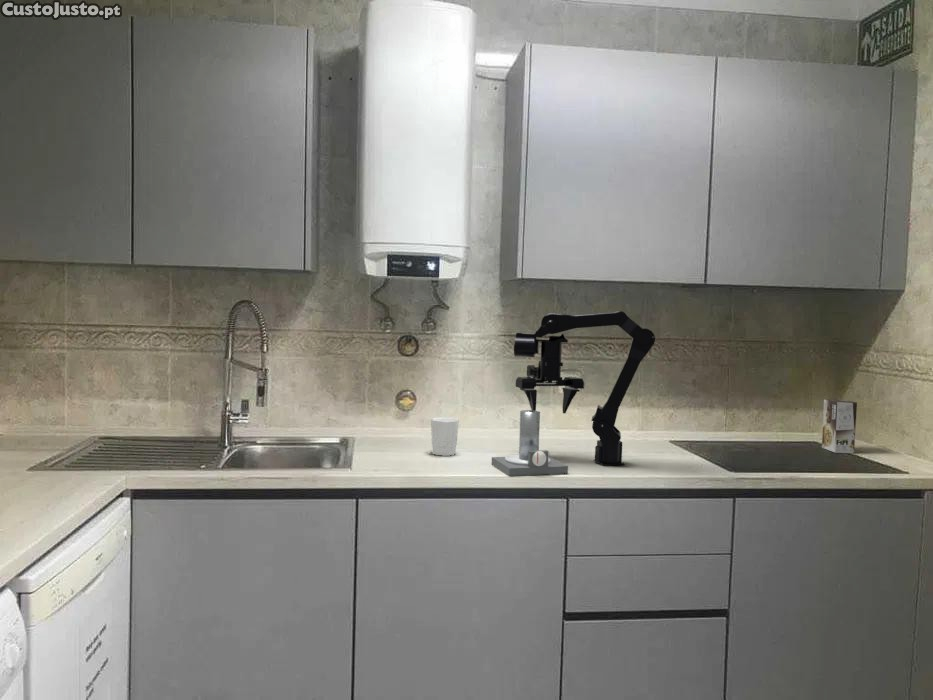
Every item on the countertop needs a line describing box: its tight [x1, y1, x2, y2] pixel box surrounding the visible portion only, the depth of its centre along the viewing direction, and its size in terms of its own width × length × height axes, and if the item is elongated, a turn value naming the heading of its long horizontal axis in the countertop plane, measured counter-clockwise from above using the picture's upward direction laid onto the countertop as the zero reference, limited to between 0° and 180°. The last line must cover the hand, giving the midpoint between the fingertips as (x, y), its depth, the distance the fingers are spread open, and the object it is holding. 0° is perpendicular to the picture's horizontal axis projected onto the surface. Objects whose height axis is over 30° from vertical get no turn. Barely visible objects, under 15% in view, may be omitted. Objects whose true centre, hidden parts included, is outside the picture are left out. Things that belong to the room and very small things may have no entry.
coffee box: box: [821, 398, 858, 454], centre depth 232 cm, size 9×6×16 cm
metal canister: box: [518, 409, 541, 460], centre depth 193 cm, size 5×5×13 cm
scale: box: [491, 449, 569, 477], centre depth 192 cm, size 16×14×6 cm
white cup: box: [430, 416, 460, 457], centre depth 209 cm, size 8×8×10 cm
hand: (549, 413), depth 205 cm, fingers open, 9 cm apart
